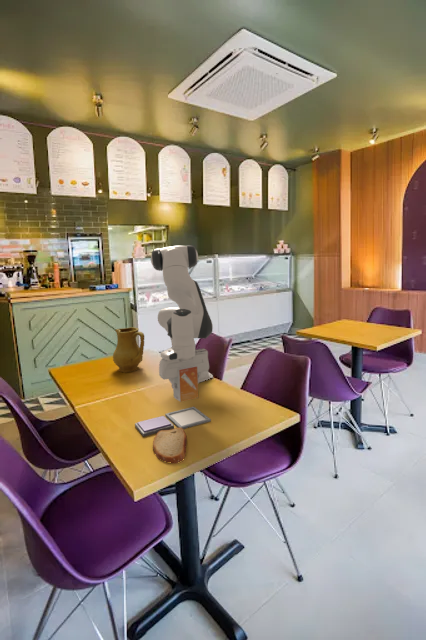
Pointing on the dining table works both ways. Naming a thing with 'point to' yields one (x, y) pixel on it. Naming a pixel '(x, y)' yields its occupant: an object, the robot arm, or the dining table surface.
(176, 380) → the small box
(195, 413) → the print frame
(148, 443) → the dining table surface
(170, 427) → the ink pad
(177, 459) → the bread slice
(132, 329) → the pitcher
